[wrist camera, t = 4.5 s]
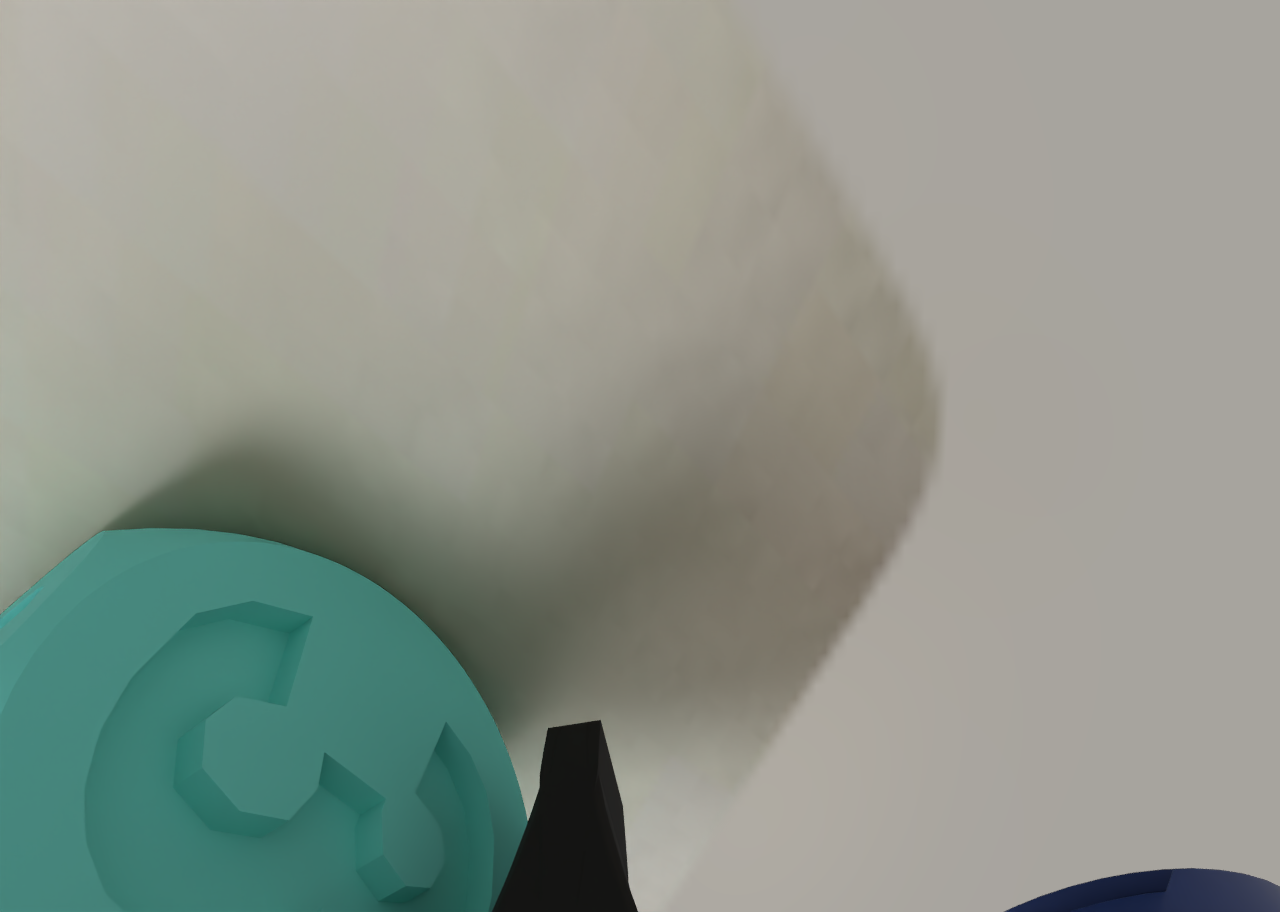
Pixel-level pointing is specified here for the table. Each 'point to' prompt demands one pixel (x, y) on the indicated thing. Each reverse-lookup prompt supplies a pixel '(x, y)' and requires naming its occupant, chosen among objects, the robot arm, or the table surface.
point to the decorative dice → (240, 739)
